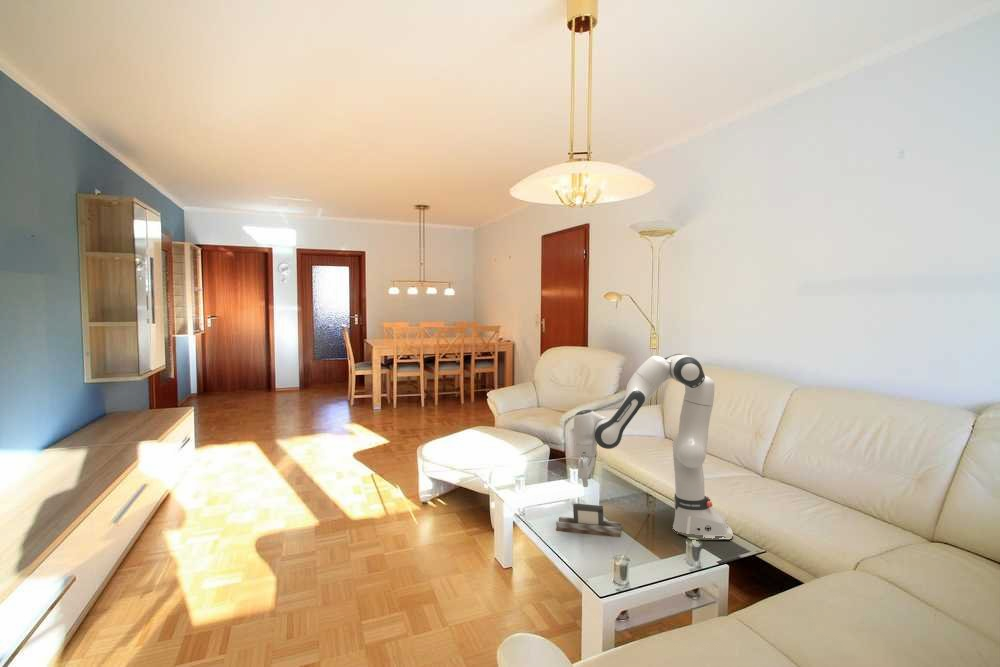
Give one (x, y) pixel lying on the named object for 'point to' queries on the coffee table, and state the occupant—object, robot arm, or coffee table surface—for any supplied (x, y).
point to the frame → (588, 514)
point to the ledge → (589, 527)
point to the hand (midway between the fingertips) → (587, 482)
